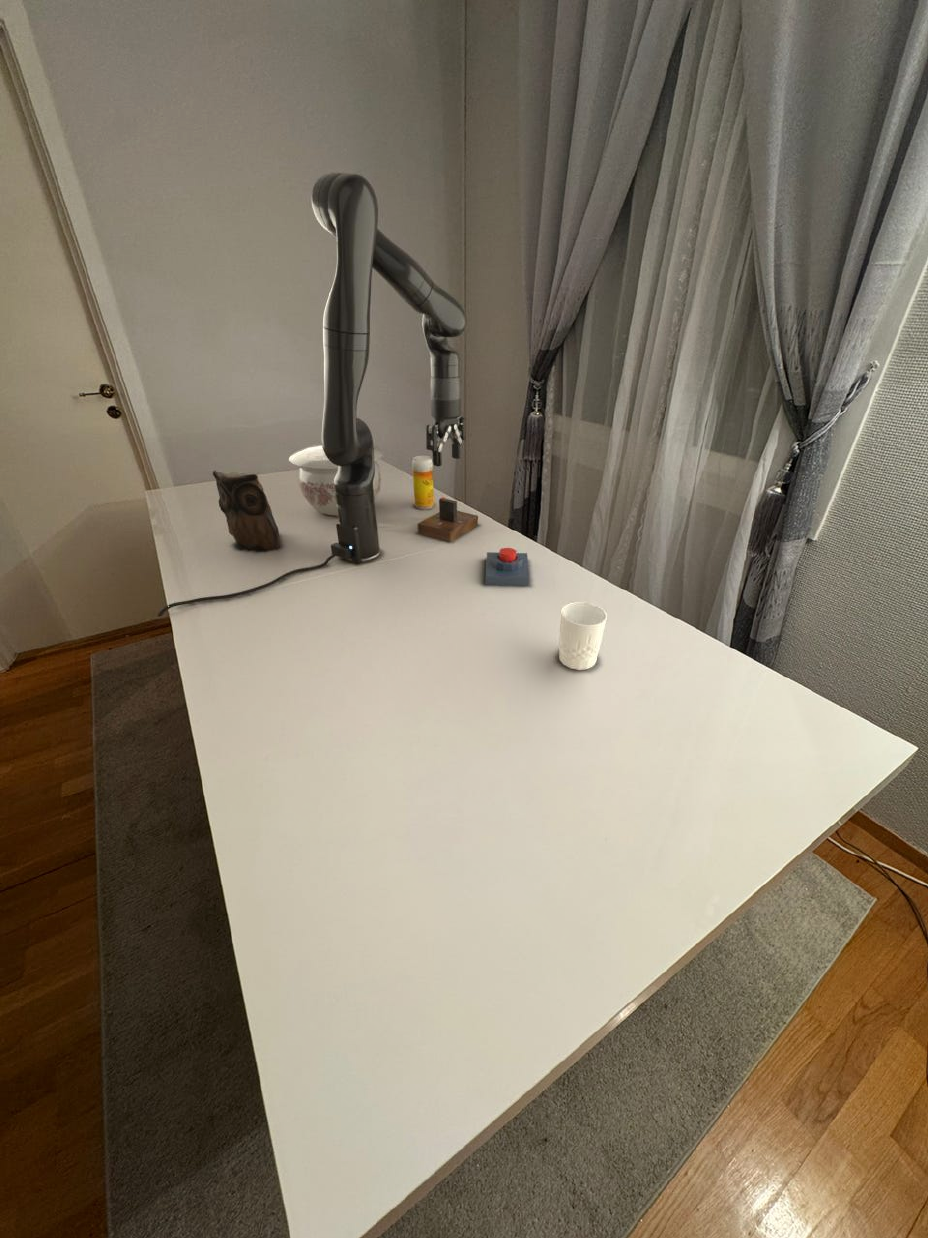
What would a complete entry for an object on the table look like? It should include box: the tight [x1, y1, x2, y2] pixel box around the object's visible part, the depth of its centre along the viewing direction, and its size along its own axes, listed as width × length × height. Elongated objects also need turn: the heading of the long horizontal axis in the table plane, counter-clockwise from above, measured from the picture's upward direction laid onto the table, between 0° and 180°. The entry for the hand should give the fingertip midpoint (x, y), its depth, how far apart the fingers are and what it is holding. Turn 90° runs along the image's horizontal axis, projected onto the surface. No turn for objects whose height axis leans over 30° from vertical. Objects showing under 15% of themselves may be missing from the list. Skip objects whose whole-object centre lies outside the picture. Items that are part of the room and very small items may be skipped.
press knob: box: [498, 547, 517, 562], centre depth 123 cm, size 4×4×2 cm
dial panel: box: [417, 510, 479, 543], centre depth 147 cm, size 14×11×3 cm
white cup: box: [558, 601, 608, 671], centre depth 93 cm, size 8×8×10 cm
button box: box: [484, 551, 530, 587], centre depth 124 cm, size 13×10×4 cm
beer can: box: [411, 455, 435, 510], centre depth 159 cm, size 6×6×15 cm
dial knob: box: [438, 497, 458, 522], centre depth 144 cm, size 5×2×6 cm, turn 56°
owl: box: [212, 470, 281, 553], centre depth 134 cm, size 13×13×20 cm
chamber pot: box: [288, 443, 385, 517], centre depth 156 cm, size 28×28×21 cm
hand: (447, 461), depth 137 cm, fingers open, 8 cm apart
